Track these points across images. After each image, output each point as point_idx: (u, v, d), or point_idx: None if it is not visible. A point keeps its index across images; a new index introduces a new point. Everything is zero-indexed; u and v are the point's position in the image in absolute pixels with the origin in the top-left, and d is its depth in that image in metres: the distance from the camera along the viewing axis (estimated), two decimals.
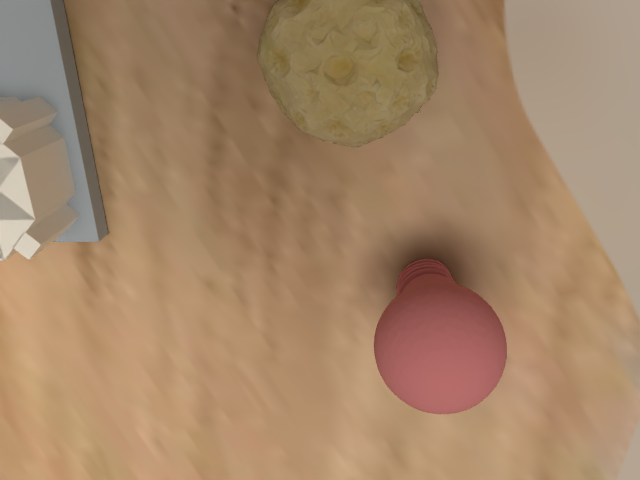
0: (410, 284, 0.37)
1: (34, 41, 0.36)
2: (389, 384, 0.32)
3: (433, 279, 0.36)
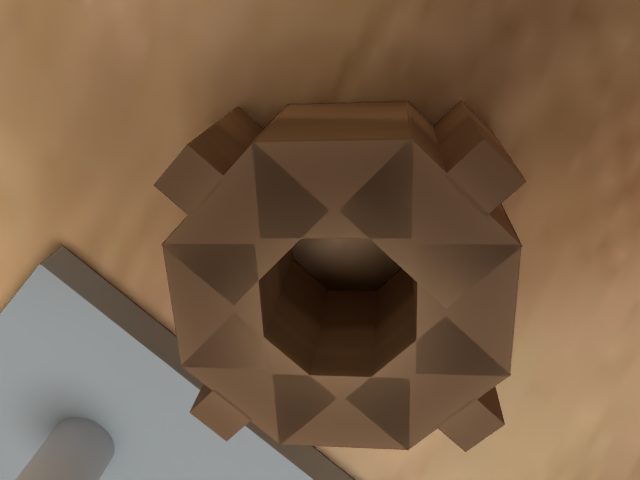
0: None
1: None
2: None
3: None
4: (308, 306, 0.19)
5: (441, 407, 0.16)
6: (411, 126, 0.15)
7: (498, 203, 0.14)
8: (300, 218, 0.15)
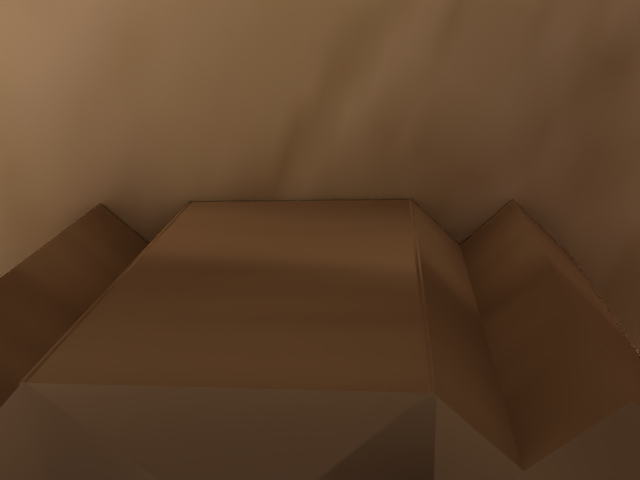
0: None
1: None
2: None
3: None
4: None
5: None
6: (426, 312, 0.06)
7: None
8: None
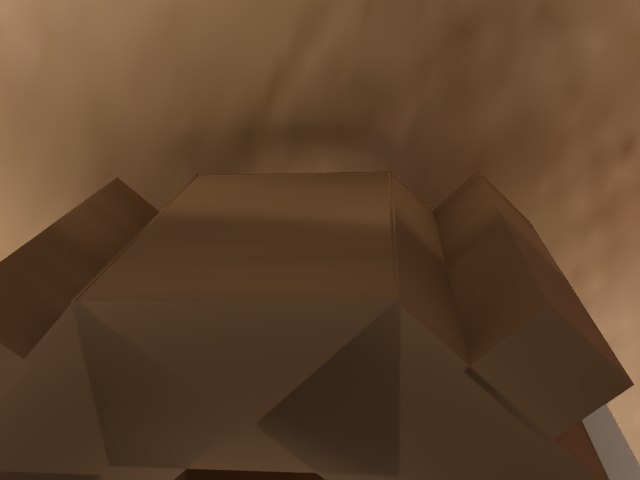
0: None
1: None
2: None
3: None
4: None
5: None
6: (397, 251, 0.08)
7: (574, 422, 0.07)
8: (182, 435, 0.07)
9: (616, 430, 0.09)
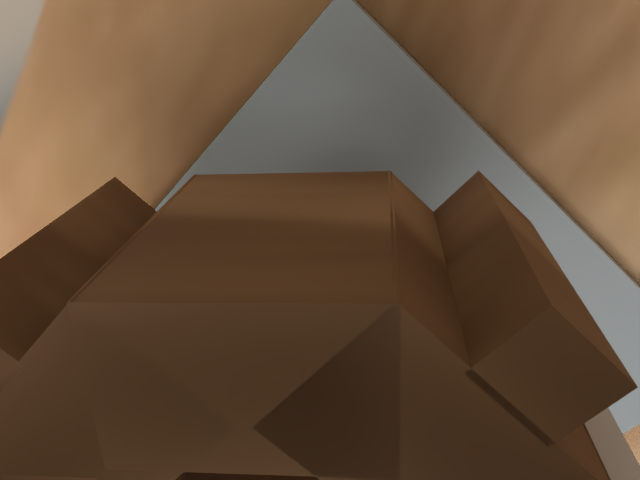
0: None
1: None
2: None
3: None
4: None
5: None
6: (397, 251, 0.08)
7: (576, 425, 0.07)
8: (179, 438, 0.07)
9: (616, 430, 0.09)
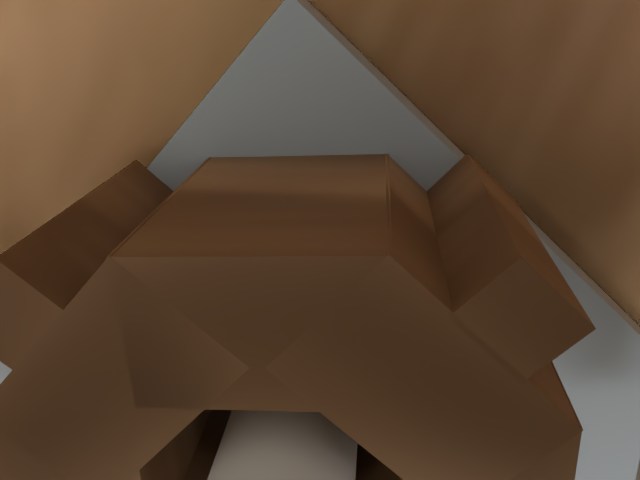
0: None
1: None
2: None
3: None
4: None
5: None
6: (391, 217, 0.09)
7: (544, 363, 0.08)
8: (201, 379, 0.08)
9: None
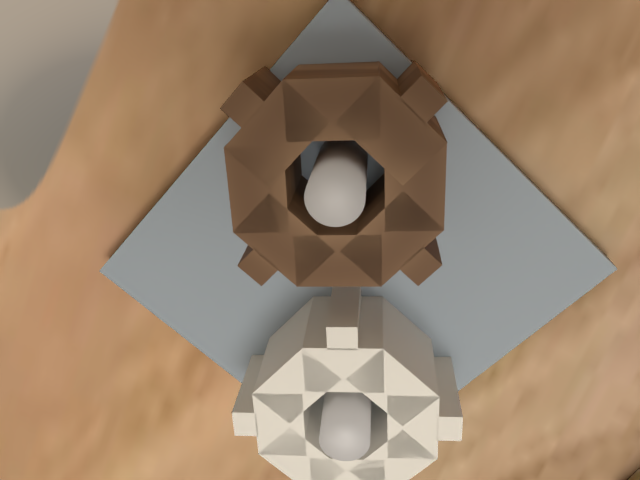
0: None
1: (501, 325, 0.32)
2: None
3: None
4: None
5: (401, 254, 0.25)
6: (379, 71, 0.24)
7: (432, 115, 0.23)
8: (312, 128, 0.23)
9: None
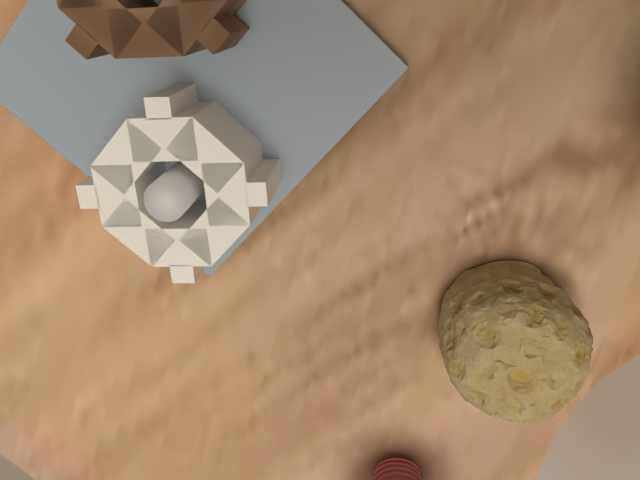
0: None
1: (318, 126, 0.37)
2: None
3: None
4: None
5: (196, 24, 0.30)
6: None
7: None
8: None
9: None
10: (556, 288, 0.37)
